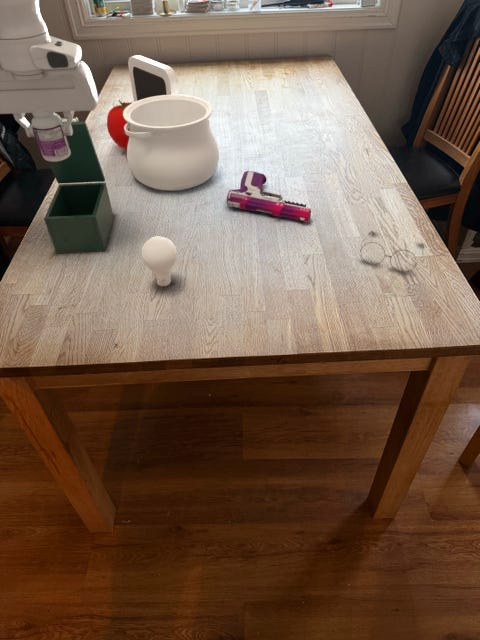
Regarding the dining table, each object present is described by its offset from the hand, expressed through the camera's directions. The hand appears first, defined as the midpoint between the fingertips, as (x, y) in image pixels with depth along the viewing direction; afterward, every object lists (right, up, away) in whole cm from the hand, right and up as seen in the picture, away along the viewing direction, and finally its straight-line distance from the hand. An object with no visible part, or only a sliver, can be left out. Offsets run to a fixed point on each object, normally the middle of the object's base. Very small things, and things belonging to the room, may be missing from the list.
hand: (51, 135), depth 85 cm
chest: (0, -15, +19) cm, 24 cm away
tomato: (+3, +17, +51) cm, 54 cm away
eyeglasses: (+68, -21, +12) cm, 73 cm away
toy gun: (+47, +1, +31) cm, 56 cm away
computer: (+10, +28, +47) cm, 55 cm away
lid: (0, 0, +11) cm, 11 cm away
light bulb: (+21, -28, +6) cm, 35 cm away
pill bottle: (0, -3, +3) cm, 4 cm away
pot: (+18, +5, +39) cm, 44 cm away
